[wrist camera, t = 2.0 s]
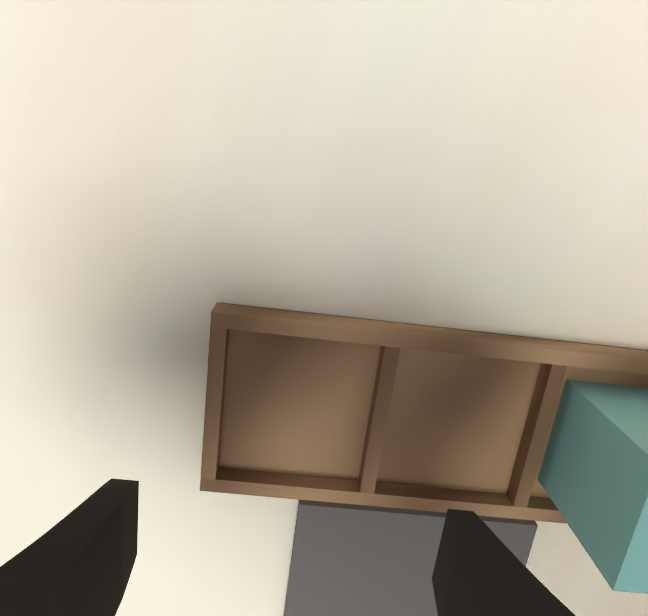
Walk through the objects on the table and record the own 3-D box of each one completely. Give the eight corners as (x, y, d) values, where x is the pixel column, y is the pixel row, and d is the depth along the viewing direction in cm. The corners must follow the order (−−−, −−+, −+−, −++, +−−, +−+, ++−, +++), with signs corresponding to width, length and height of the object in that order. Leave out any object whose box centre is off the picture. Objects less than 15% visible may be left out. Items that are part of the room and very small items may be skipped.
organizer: (710, 357, 18) (733, 369, 17) (652, 513, 20) (669, 532, 19) (216, 302, 17) (211, 311, 16) (205, 473, 19) (199, 490, 18)
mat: (534, 520, 20) (537, 525, 20) (483, 693, 23) (486, 700, 22) (299, 499, 20) (299, 504, 19) (275, 678, 22) (275, 685, 22)
